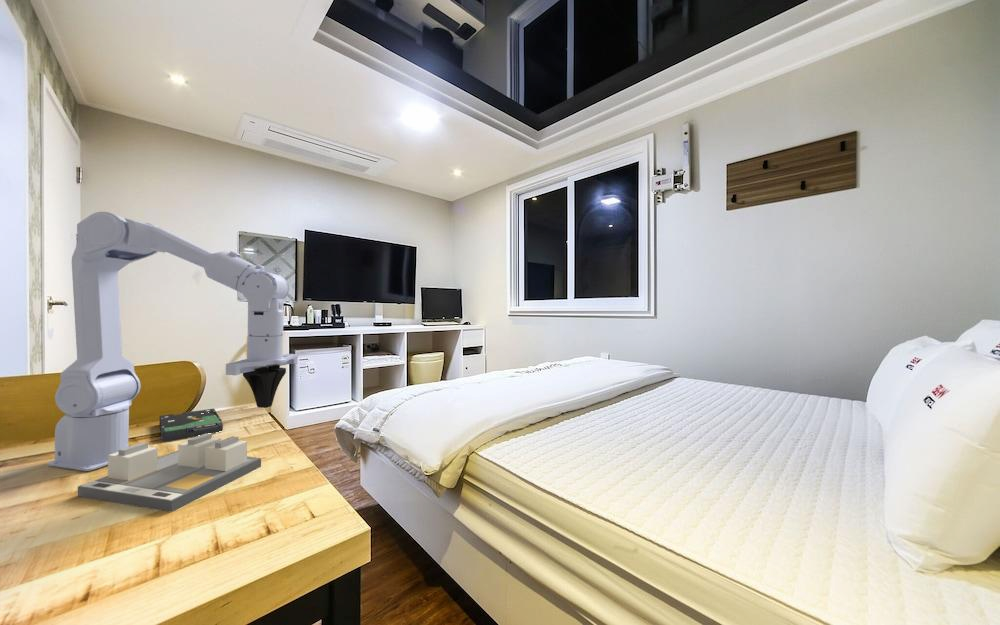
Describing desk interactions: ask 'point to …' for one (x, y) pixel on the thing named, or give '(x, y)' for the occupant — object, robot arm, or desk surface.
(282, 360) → the robot arm
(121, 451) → the tab
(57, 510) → the desk surface
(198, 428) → the disk drive
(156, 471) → the switch panel
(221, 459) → the tab
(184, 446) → the tab
